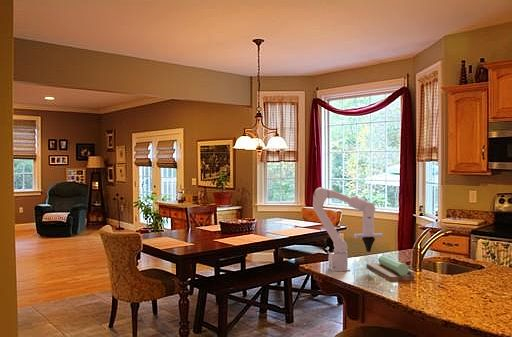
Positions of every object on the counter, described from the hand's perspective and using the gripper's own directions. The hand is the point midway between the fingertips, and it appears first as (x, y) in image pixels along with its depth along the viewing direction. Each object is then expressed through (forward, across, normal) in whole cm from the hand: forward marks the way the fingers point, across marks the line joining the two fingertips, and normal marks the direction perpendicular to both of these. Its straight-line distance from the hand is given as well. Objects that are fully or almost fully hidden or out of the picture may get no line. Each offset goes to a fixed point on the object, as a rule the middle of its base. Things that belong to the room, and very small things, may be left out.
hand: (368, 251), depth 231 cm
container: (+8, +8, -9) cm, 15 cm away
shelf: (+9, +7, -9) cm, 15 cm away
